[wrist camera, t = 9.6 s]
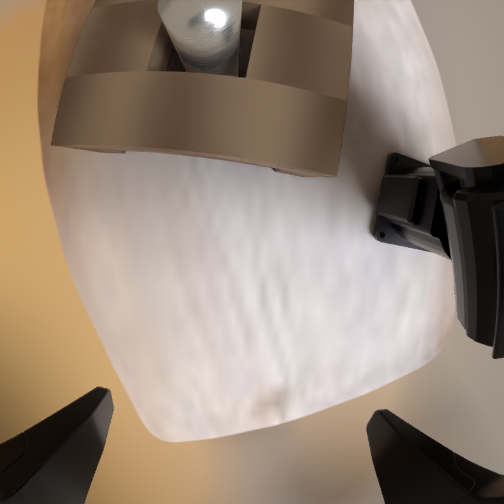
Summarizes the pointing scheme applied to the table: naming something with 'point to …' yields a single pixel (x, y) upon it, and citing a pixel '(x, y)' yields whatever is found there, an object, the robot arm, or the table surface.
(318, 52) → the board
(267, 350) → the table surface
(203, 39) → the long pin
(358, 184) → the table surface
